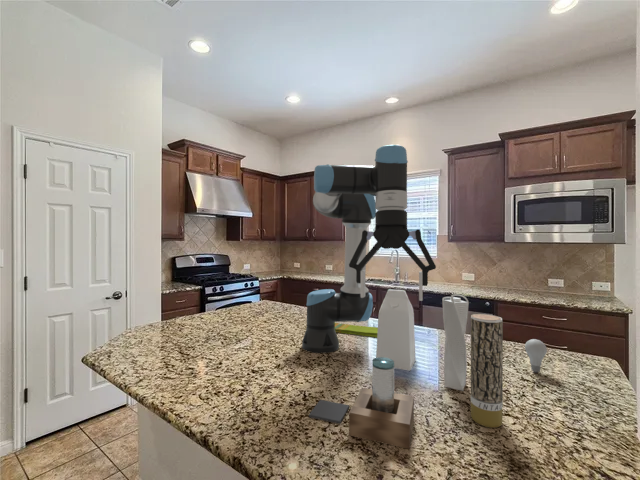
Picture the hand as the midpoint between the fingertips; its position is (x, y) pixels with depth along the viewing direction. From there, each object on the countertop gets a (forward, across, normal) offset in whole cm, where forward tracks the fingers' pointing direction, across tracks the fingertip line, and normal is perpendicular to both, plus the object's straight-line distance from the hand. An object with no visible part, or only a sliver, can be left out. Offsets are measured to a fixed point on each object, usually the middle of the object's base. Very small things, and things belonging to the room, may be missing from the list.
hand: (391, 298), depth 75 cm
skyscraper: (+29, +17, +27) cm, 43 cm away
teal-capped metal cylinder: (+29, -2, -2) cm, 29 cm away
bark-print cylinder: (+30, +22, +8) cm, 38 cm away
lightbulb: (+29, +44, +46) cm, 70 cm away
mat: (+29, -15, 0) cm, 33 cm away
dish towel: (+28, -24, +77) cm, 85 cm away
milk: (+29, -2, +40) cm, 50 cm away
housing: (+29, -2, -2) cm, 29 cm away
